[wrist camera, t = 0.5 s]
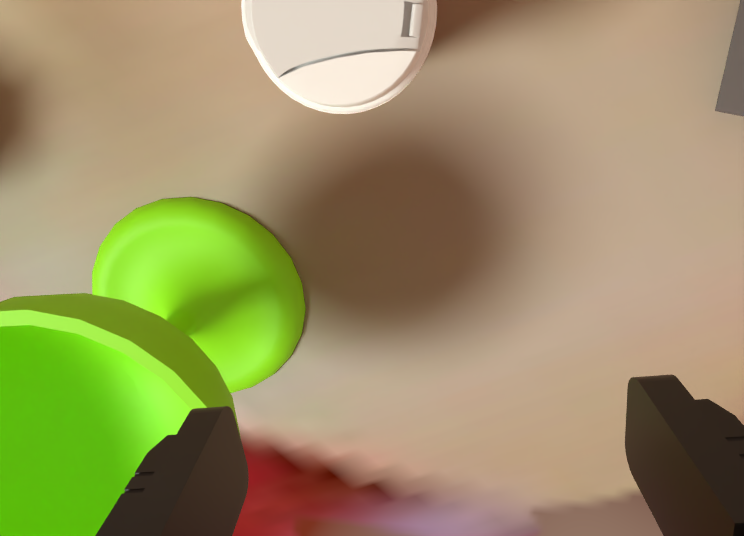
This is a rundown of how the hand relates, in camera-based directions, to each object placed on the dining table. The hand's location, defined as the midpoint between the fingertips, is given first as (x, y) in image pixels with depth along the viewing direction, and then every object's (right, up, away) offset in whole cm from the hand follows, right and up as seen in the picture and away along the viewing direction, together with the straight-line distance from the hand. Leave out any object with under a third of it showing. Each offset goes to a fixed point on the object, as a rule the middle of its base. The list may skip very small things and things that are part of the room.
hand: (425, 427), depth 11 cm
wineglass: (-14, +1, +30) cm, 33 cm away
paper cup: (-2, +18, +23) cm, 29 cm away
